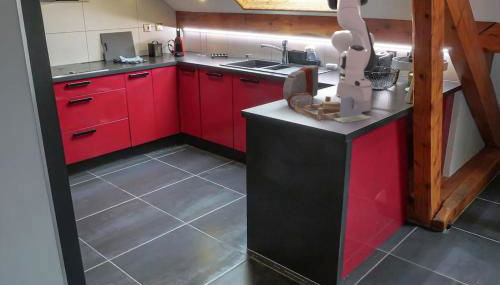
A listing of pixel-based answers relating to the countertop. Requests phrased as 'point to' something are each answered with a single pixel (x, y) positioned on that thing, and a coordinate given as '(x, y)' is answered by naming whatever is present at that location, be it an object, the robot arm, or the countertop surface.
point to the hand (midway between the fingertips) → (351, 107)
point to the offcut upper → (331, 105)
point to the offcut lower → (331, 110)
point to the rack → (319, 115)
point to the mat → (351, 118)
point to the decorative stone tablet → (302, 82)
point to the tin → (303, 97)
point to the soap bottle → (367, 104)
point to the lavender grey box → (349, 107)
